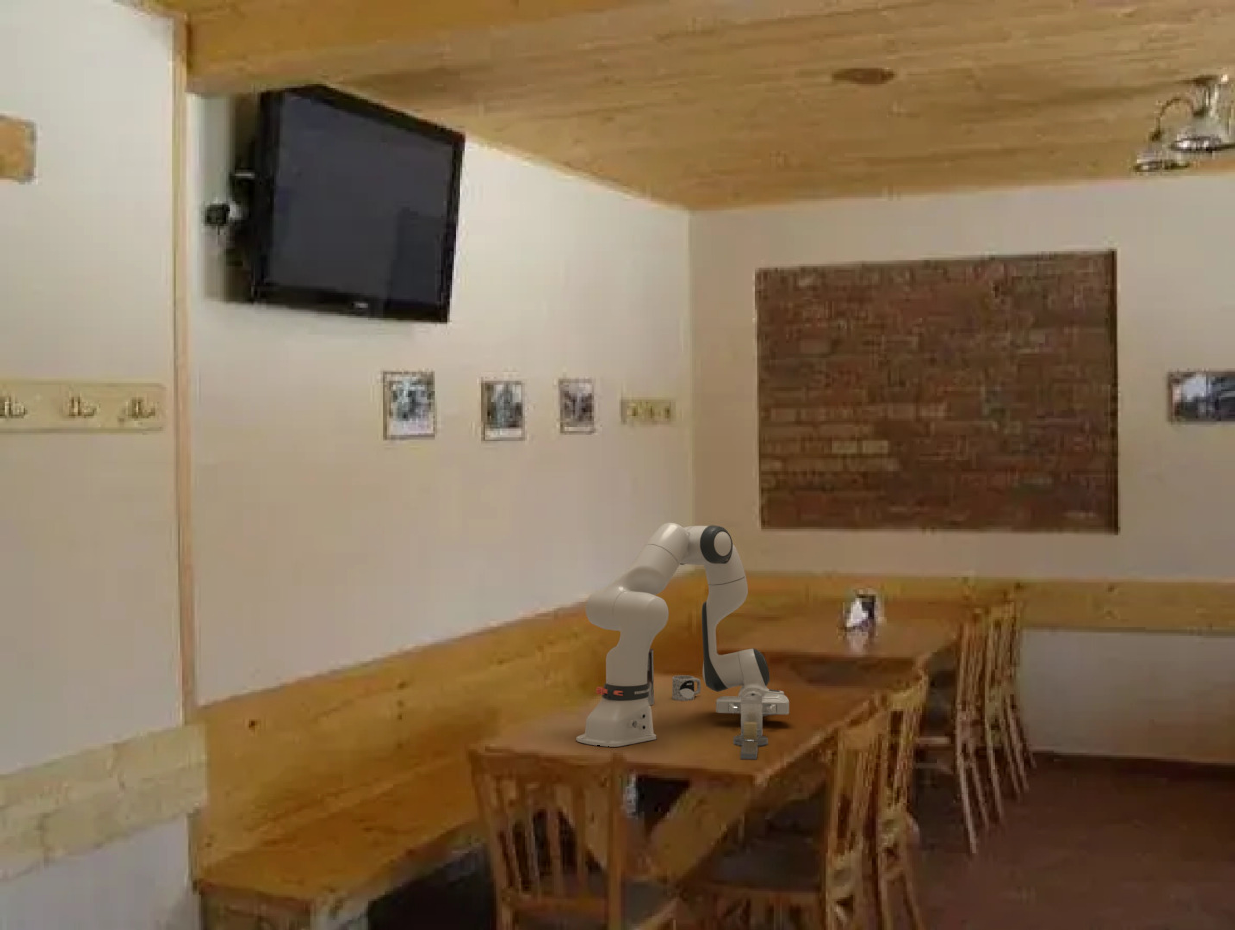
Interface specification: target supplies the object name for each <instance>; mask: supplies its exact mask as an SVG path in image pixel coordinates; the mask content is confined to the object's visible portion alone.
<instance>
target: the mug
mask: <svg viewBox="0 0 1235 930" xmlns="http://www.w3.org/2000/svg"><path fill="white" fill-rule="evenodd" d="M671 679H672V686H671V687H672V693H671V695H672V697H671V698H672V700H674V701H679V702H680V701H681V702H687V701H688V700H689V701H694V700H695V696H696V695H698V694H700V693H701V688H702V685H701V684H702V682H701V679H700V678H698V677H695V676H693V675H685V674H684V675H683V674H682V675H681V674H680V675H674V676H672V678H671ZM695 682H696V684H697V686H696V687H697V688H696V690H695ZM693 699H694V700H693Z"/></svg>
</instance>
